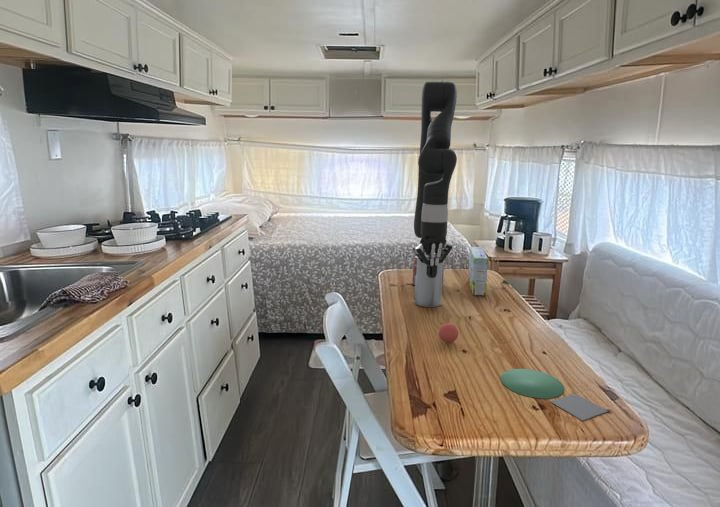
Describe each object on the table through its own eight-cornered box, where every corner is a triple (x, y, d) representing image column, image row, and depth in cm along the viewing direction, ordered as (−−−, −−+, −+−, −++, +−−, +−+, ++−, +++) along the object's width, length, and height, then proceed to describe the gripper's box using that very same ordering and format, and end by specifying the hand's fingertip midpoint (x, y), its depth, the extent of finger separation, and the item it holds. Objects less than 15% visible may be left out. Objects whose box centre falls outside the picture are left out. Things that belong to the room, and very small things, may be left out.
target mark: (488, 376, 111) (488, 375, 111) (530, 365, 117) (530, 364, 117) (533, 404, 99) (533, 403, 99) (577, 390, 105) (577, 389, 105)
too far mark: (550, 402, 100) (550, 401, 100) (575, 394, 104) (575, 393, 104) (582, 421, 93) (582, 420, 93) (607, 411, 97) (608, 410, 97)
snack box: (466, 280, 196) (469, 246, 192) (480, 281, 195) (482, 246, 192) (471, 295, 175) (474, 257, 172) (486, 296, 174) (489, 258, 171)
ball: (434, 340, 132) (435, 322, 131) (449, 336, 135) (450, 319, 134) (446, 347, 128) (447, 328, 126) (461, 343, 130) (463, 325, 129)
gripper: (444, 216, 138) (441, 272, 142) (408, 218, 132) (405, 276, 136) (460, 220, 132) (457, 278, 136) (422, 222, 126) (420, 283, 130)
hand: (431, 277), depth 136 cm, fingers closed
